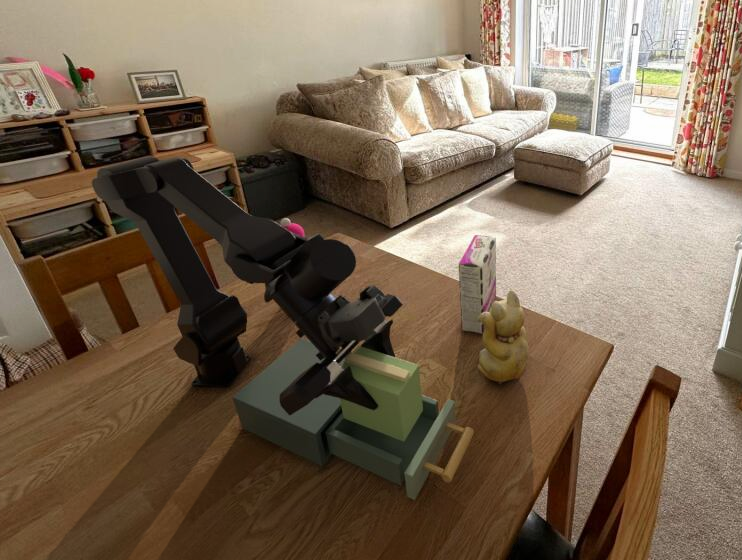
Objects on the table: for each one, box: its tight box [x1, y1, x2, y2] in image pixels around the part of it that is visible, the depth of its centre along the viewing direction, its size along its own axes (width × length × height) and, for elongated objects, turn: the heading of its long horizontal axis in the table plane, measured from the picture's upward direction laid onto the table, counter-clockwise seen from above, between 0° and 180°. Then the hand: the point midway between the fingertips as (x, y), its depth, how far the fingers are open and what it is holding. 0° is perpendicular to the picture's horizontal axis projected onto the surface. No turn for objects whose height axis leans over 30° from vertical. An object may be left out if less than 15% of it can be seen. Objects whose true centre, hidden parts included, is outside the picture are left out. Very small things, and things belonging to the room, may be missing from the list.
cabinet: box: [232, 337, 345, 467], centre depth 63 cm, size 16×13×7 cm
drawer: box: [325, 394, 475, 501], centre depth 58 cm, size 19×11×5 cm, turn 70°
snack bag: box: [340, 345, 423, 441], centre depth 56 cm, size 5×10×10 cm, turn 71°
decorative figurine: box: [477, 289, 530, 385], centre depth 70 cm, size 10×8×15 cm
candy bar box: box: [458, 234, 497, 335], centre depth 83 cm, size 11×5×16 cm, turn 168°
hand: (388, 392), depth 56 cm, fingers closed on snack bag, 5 cm apart
